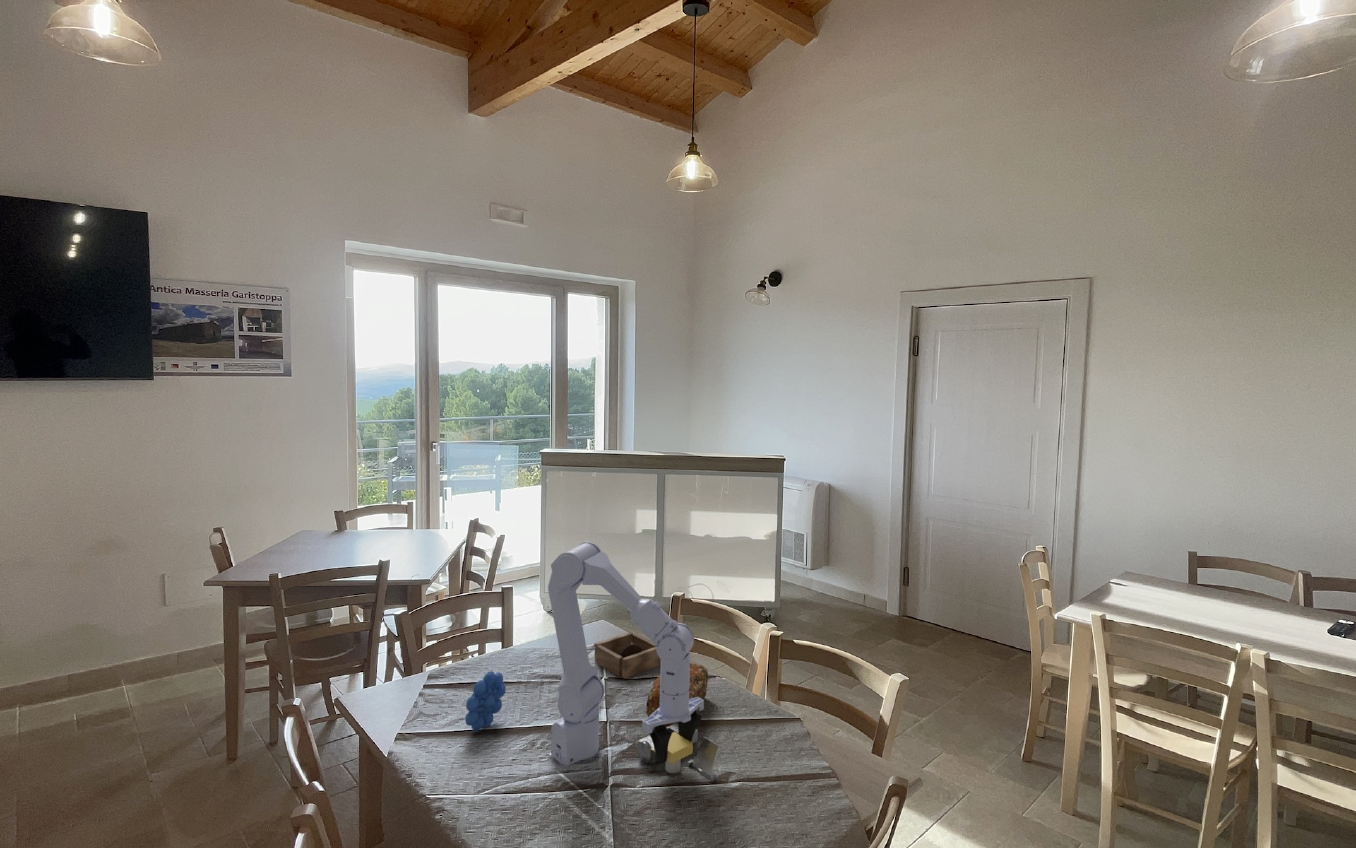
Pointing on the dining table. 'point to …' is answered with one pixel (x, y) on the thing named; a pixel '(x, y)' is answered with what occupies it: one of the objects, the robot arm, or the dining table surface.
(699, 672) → the bread
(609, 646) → the open wooden box
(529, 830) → the dining table surface
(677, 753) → the pale yellow block
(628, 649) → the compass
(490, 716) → the grapes
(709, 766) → the plate
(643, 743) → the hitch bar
